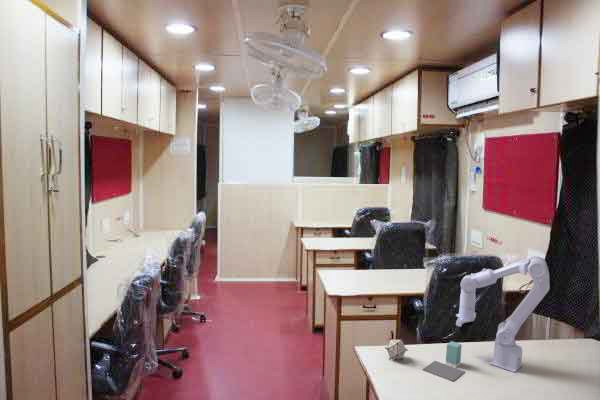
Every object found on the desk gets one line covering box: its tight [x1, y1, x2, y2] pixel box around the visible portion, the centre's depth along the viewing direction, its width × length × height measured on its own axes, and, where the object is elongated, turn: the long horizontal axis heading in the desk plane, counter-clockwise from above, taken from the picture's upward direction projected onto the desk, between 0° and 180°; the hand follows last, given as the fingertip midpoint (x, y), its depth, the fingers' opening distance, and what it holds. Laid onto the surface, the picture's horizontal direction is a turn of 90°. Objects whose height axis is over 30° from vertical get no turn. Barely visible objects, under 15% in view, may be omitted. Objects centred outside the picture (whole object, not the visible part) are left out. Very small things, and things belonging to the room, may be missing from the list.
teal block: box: [445, 340, 463, 368], centre depth 175 cm, size 4×4×8 cm
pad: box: [422, 360, 466, 382], centre depth 169 cm, size 12×10×1 cm
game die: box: [384, 337, 409, 362], centre depth 178 cm, size 9×8×10 cm
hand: (464, 338), depth 182 cm, fingers closed
